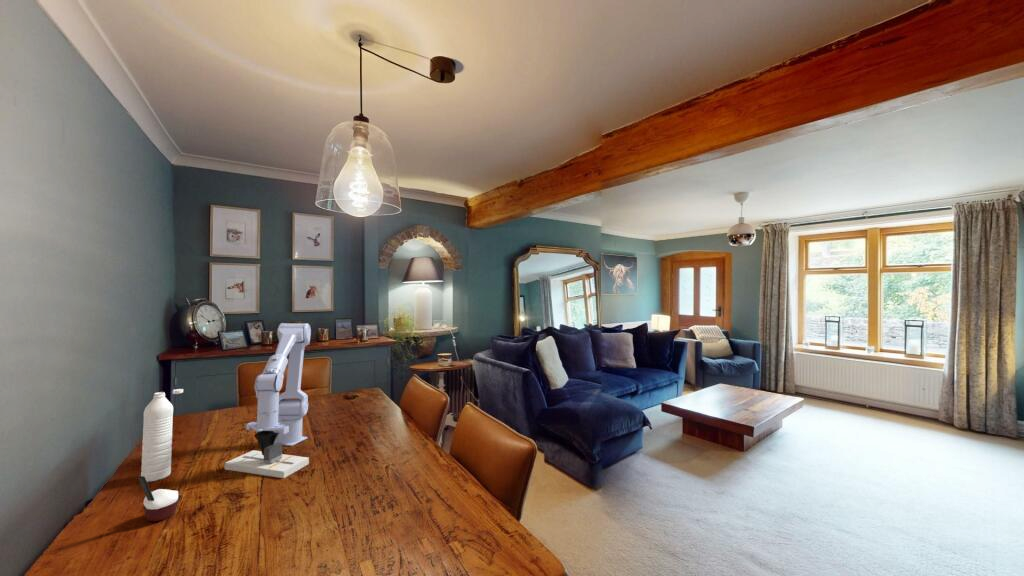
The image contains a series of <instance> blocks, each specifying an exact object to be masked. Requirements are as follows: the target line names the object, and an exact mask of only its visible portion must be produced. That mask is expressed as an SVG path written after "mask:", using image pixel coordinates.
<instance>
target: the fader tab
mask: <svg viewBox="0 0 1024 576" xmlns="http://www.w3.org/2000/svg"><path fill="white" fill-rule="evenodd" d="M282 454H283V445H282V443H278V442H277V443H275V444H273V445H271V446H268V447H266V448H264V463H271V464H272V463H274V462H276V461H278V460H280V459H282Z"/></svg>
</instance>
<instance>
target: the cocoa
mask: <svg viewBox="0 0 1024 576" xmlns="http://www.w3.org/2000/svg"><path fill="white" fill-rule="evenodd" d="M137 479H138V481H139V484H140V486H141V487H142V490H143V492H144V494H145V497H144V500H143V503H142V504H143V513H144V516H145V518H146V519H147V520H148V521H150V522H161V521H164V520H166V519H168V518H170V517H171V516H172V515H174V513H175V512H176V510H177V508H178V506H179V503H180V501H181V500H182V499H181V498H182V496H181V494H179V491H178V490H172V489H167V488H164V489H163V488H158V489H155V490H153V491H152V490H151V488H150V486H149V482H147V481H146V479H145V477H143V476H141V475H138V477H137Z"/></svg>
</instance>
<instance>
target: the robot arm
mask: <svg viewBox="0 0 1024 576" xmlns="http://www.w3.org/2000/svg"><path fill="white" fill-rule="evenodd" d="M276 331H277V339H278V344H277V346H276V350H275V354H273V355H271V356H270V357H269V358H268V361H267V363H266V364H265V367H264V369H263V370H262V373H260V374H259V375H257V377H256V378H255V381H254V391H255V397H256V399H257V409H256V410H257V412H256V415H257V417H256V421H251V422H249V423H246V426H245V430H247V431H250V430H253V431H254V432H256V433H255V434H253V436H254V438H255V439H256V441H257V443H258V445H259V447H260V450H261V452H262V455H264V448H266V447H268V446H271V445H273V444H275V443H277V442H278V443H282V446H288V447H292V446H295V445H297V444H298V443H301V442H303V441H305V440H307V439H308V436H303V417H304V416H306V414H307V413H308V411H309V410H308V409H309V398H308V394H307V393H305V392H304V391H302V389H301V387H302V386H301V385H302V376H303V374H302V373H303V367H304V365H303V364H304V354H305V348H306V347H307V346H308V345H310V342H311V335H312V333H311V332H312V329H311V325H310V324H309V322H308V323H286V322H285V323H284V322H281V323H280V324H279V325H278V328H277V330H276ZM288 355H289V357H288ZM287 357H288V358H287ZM286 368H287V375H286V385H285V391H284V392H282V393H281V394H280V391H281V390H282V388H283V386H284V385H283V383H284V378H285V375H284V373H285V370H286Z"/></svg>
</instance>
